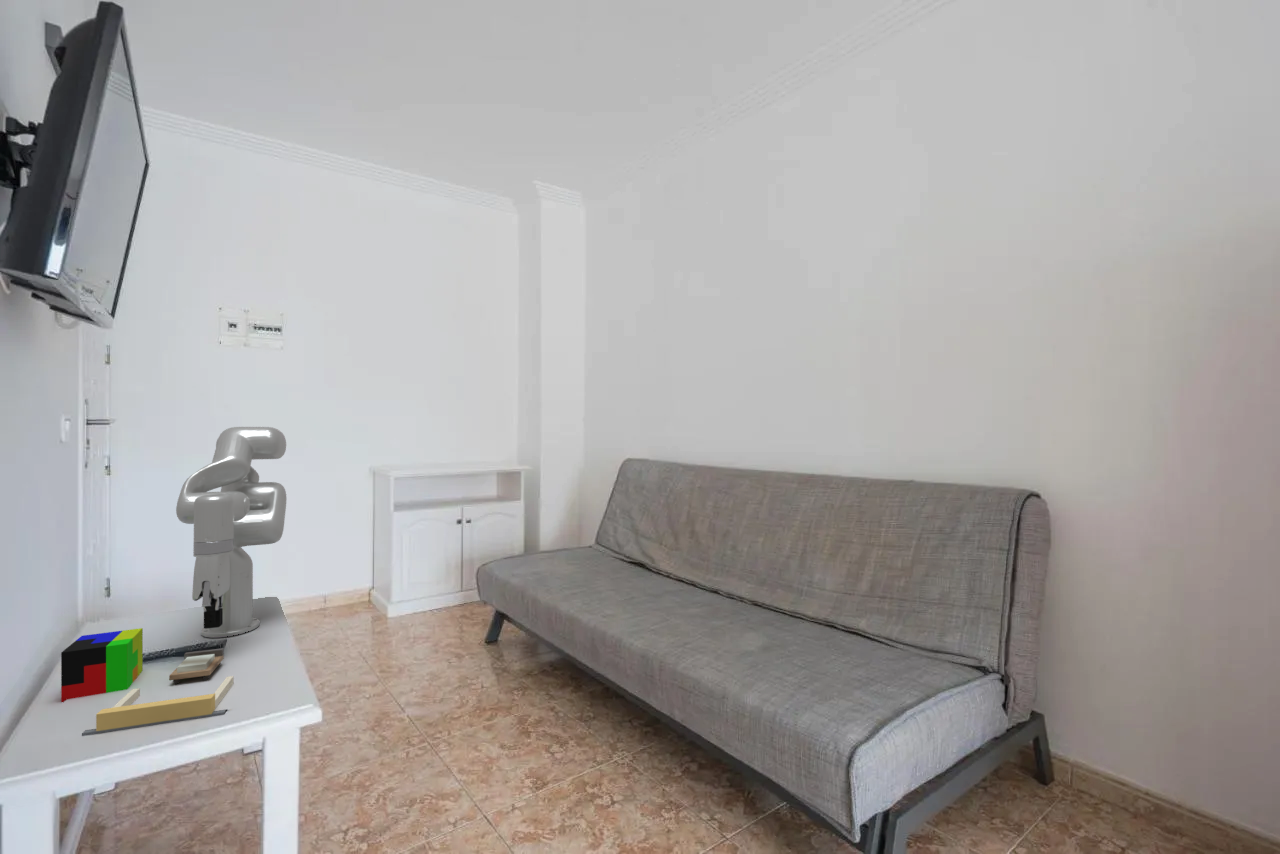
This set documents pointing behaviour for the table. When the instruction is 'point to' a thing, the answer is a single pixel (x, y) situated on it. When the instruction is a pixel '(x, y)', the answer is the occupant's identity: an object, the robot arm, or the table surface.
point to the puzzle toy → (101, 663)
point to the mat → (158, 710)
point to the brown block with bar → (198, 664)
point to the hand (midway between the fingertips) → (213, 626)
